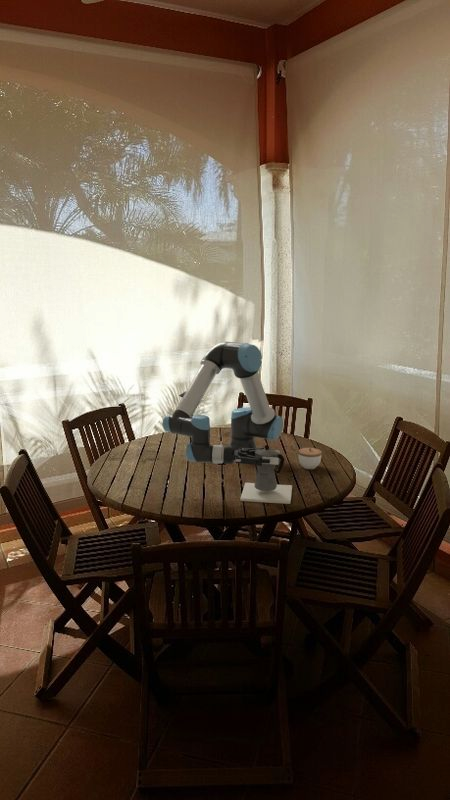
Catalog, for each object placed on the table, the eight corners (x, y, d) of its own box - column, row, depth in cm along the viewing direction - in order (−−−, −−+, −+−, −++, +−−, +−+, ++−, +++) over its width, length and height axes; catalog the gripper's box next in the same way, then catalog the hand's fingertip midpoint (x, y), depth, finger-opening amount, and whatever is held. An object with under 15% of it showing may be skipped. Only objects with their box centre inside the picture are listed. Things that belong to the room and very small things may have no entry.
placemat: (245, 484, 267) (245, 482, 266) (292, 487, 264) (292, 485, 264) (240, 500, 249) (240, 498, 249) (290, 503, 247) (290, 501, 246)
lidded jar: (320, 471, 284) (321, 452, 282) (296, 469, 286) (297, 450, 284) (321, 464, 294) (322, 445, 292) (298, 462, 296) (299, 443, 294)
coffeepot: (245, 486, 257) (246, 444, 253) (259, 480, 264) (260, 439, 260) (276, 495, 247) (277, 452, 243) (289, 489, 254) (291, 447, 250)
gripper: (227, 455, 266) (280, 458, 263) (219, 471, 246) (277, 475, 243) (227, 438, 265) (280, 441, 262) (220, 453, 244) (277, 456, 241)
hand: (279, 457), depth 252 cm, fingers closed on coffeepot, 8 cm apart
